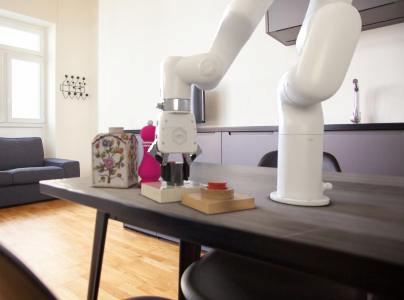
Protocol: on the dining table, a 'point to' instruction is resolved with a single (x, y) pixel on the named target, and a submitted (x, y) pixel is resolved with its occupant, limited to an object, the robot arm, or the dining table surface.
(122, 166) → the decorative jar
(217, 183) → the button
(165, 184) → the panel
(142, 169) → the pepper mill
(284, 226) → the dining table surface
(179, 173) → the dark grey block
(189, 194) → the button block
